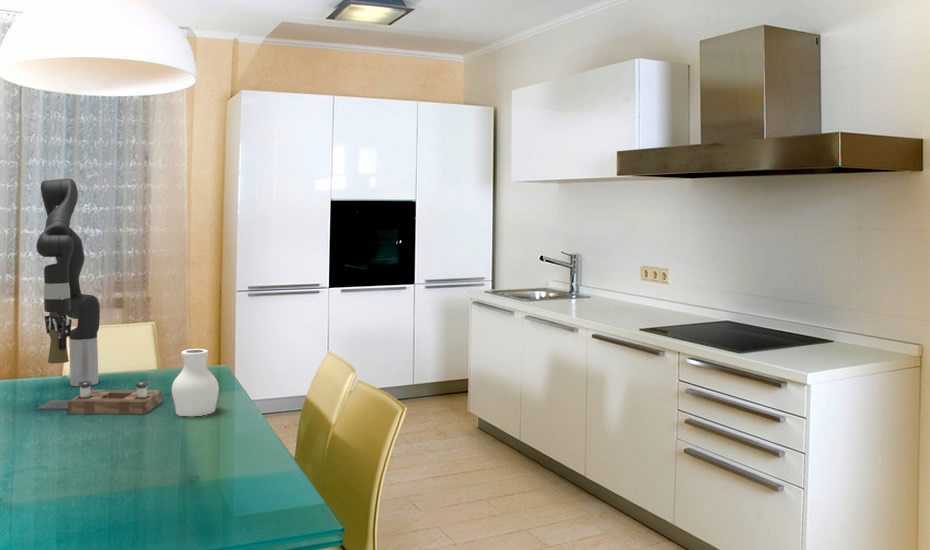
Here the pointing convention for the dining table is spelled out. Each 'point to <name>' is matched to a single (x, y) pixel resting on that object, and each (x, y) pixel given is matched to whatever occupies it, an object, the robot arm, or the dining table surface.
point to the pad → (55, 405)
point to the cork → (56, 349)
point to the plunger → (85, 389)
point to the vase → (195, 385)
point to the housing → (115, 402)
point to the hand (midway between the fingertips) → (58, 348)
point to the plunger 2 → (141, 390)
